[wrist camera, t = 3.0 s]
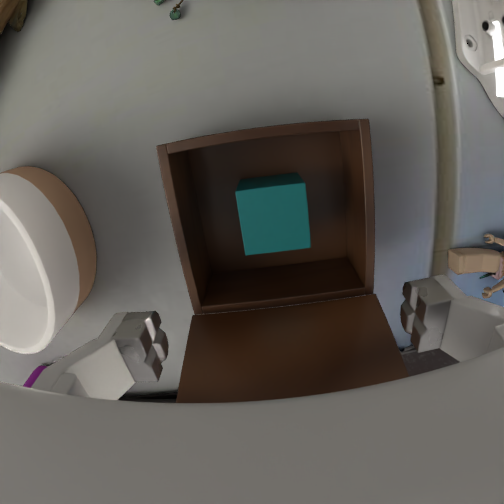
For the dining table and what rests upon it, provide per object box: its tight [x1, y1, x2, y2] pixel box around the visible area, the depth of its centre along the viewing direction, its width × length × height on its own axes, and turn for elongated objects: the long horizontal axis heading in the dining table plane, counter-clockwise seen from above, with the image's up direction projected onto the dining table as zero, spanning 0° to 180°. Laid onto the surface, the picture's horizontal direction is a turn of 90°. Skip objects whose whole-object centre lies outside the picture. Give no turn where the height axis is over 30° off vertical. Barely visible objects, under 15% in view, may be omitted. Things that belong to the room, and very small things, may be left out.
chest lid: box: [176, 294, 409, 403], centre depth 17 cm, size 13×13×4 cm
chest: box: [156, 119, 375, 315], centre depth 23 cm, size 12×13×6 cm
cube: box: [235, 173, 311, 255], centre depth 23 cm, size 5×5×5 cm
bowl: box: [0, 166, 97, 354], centre depth 24 cm, size 17×17×8 cm
